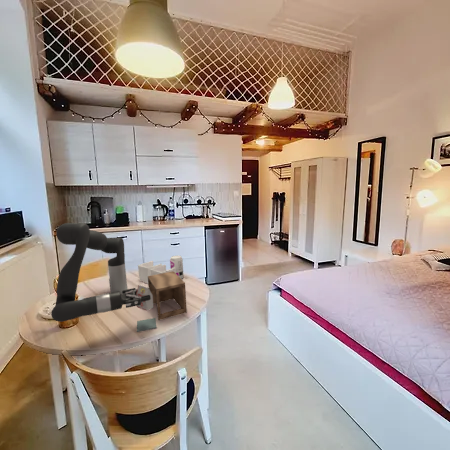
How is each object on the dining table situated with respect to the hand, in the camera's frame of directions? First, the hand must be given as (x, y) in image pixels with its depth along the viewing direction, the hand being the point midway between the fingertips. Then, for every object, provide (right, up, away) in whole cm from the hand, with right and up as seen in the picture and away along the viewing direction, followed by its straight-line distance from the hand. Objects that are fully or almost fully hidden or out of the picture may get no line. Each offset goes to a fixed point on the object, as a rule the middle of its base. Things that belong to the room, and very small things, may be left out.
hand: (148, 293), depth 115 cm
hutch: (+4, -12, +17) cm, 21 cm away
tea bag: (-2, -6, 0) cm, 7 cm away
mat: (-1, -15, +2) cm, 15 cm away
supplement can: (+2, -5, +58) cm, 58 cm away
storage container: (-10, -7, +52) cm, 54 cm away
